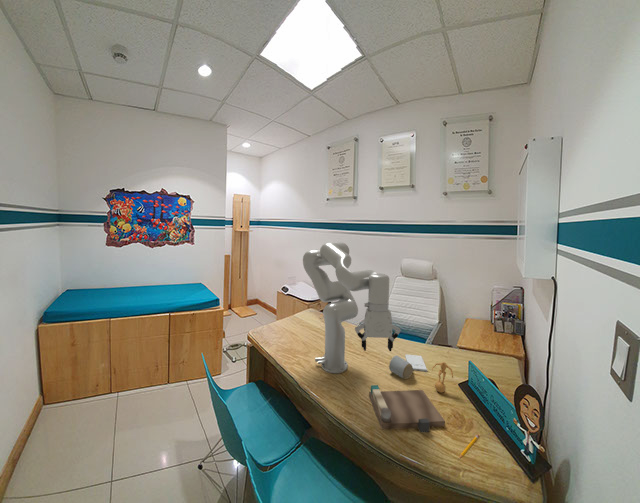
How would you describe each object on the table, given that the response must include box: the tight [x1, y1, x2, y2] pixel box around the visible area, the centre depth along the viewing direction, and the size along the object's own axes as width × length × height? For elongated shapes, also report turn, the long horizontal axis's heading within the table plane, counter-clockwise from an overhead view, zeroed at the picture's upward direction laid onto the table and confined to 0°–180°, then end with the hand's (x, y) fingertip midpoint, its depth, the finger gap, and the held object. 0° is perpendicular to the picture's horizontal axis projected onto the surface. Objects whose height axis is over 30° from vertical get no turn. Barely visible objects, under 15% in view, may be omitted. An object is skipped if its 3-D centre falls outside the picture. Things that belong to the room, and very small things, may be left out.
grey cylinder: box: [388, 355, 414, 380], centre depth 114 cm, size 11×8×8 cm
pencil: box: [458, 434, 480, 460], centre depth 77 cm, size 1×13×1 cm, turn 127°
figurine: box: [431, 361, 454, 393], centre depth 103 cm, size 8×6×12 cm
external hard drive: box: [404, 353, 428, 372], centre depth 123 cm, size 2×8×12 cm
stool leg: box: [370, 384, 391, 422], centre depth 91 cm, size 16×3×3 cm, turn 4°
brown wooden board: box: [368, 389, 446, 430], centre depth 92 cm, size 22×16×2 cm
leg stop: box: [417, 419, 431, 433], centre depth 83 cm, size 3×2×4 cm, turn 94°
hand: (376, 349), depth 96 cm, fingers open, 9 cm apart
